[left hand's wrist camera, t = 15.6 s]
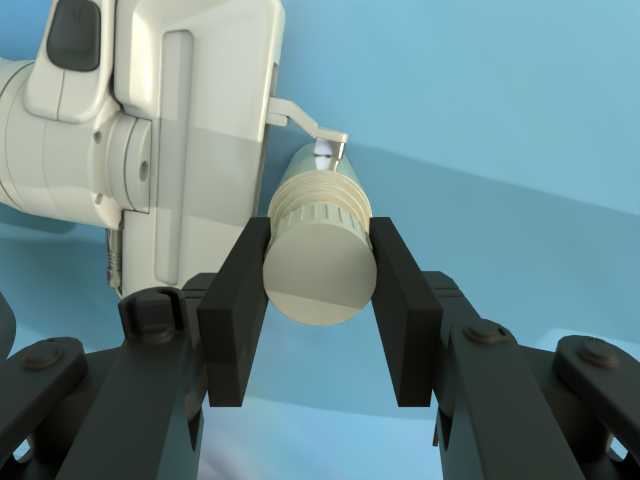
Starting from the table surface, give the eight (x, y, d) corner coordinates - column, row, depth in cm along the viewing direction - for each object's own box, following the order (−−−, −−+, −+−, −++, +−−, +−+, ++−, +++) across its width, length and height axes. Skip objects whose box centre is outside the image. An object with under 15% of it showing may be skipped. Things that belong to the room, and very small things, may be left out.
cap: (391, 241, 14) (403, 266, 12) (329, 312, 15) (331, 346, 13) (308, 181, 13) (306, 196, 11) (249, 261, 14) (237, 288, 12)
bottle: (316, 217, 30) (313, 355, 14) (274, 170, 29) (215, 264, 12) (364, 177, 29) (422, 277, 13) (323, 127, 28) (328, 166, 11)
